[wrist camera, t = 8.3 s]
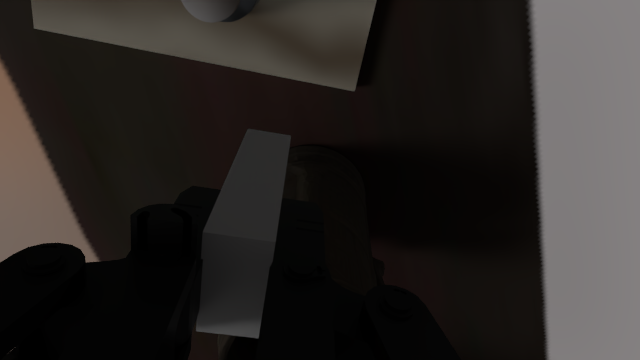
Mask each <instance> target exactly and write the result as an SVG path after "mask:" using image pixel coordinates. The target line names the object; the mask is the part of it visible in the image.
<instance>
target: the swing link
mask: <svg viewBox="0 0 640 360" xmlns="http://www.w3.org/2000/svg"><path fill="white" fill-rule="evenodd" d="M259 1H260V0H240V2H239V5H238V7H237V9H236V10H235V12H234V13H233V14H232V15H231V16H229V17H228V18H226V19H224V20H222V21H220V22H234V21H237V20H239V19H241V18H243V17H244V16H246V15H247V14H249V13H250V12H251V11H252V10H253V9H255V7H256V6H257V5H258V3H259Z"/></svg>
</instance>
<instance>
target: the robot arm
mask: <svg viewBox="0 0 640 360" xmlns="http://www.w3.org/2000/svg"><path fill="white" fill-rule="evenodd" d="M290 140H291V136H290V135H284V134H278V133H271V132H265V131H259V130H253V129H248V130H247V132H246V134H245V137H244V139H243V141H242V143H241V146H240V148H239V150H238V152H237V155H236V157H235V159H234V162H233V164H232V166H231V168H230V171H229V173H228V175H227V178H226V180H225V182H224V184H223V187H222V189H221V190H218V189H211V188H204V187H197V186H192V187H190V188H188V189H187V190H185V191H183V192H182V193H180V195H179V196H178V198H177V199H176V201H175V203H174V204H156V205H149V206H146V207H143V208H141V209H138V210H137V211H136V212H134V213H133V214H132V215H131V251H130V252H129V254H128V255H127V257H126V258H123V259H120V260H112V261H102V262H89V263H85V256H84V254H83V253H82V251H81V250H80V249H78V248H77V247H75V246H73V245H69V244H63V243H46V244H40V245H36V246H32V247H28V248H26V249H23V250H21V251H19V252H17V253H15V254H13V255H12V256H10V257H8V258H7V259H5V260H4V261H2V262H0V360H187V359H188V356H189V353H190V350H191V335H192V330H193V327H194V325H195V322H196V319H197V324H196V331H200V332H208V333H216V334H225V335H233V336H242V337H250V338H258V345H257V351H256V357H255V360H461V359H460V358H459V356H458V355H457V353H456V352H455V350H454V349H453V347H452V345H451V344H450V342H449V341H448V339H447V338H446V336H445V335H444V333H443V332H442V330H441V328H440V327H439V325H438V324H437V322H436V321H435V319H434V318H433V316H432V315H431V313H430V311H429V310H428V308H427V307H426V305H425V304H424V303H423V302H422V301H421V300H420V299H419V298H418V297H417V296H416V295H414V294H413V293H411V292H410V291H408V290H406V289H403V288H400V287H397V286H391V285H380V286H375V287H373V288H372V289H370V290H369V291H367V293H366V296H363V295H361V294H358V293H355V292H352V291H350V290H348V289H346V288H344V287H342V286H340V285H339V284H337V283H336V282H335V281H334V280H333V279H332V278H331V275H330V272H329V269H328V268H327V267H326V265H325V243H324V225H323V224H324V218H323V212H322V210H321V209H320V208H319V206H318V205H317V204H316V203H314V202H308V201H301V200H294V199H287V198H282V195H283V188H284V181H285V174H286V167H287V161H288V154H289V147H290ZM12 349H13V350H12ZM11 350H12V351H11Z"/></svg>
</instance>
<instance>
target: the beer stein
mask: <svg viewBox="0 0 640 360" xmlns="http://www.w3.org/2000/svg"><path fill="white" fill-rule="evenodd" d="M282 198H287V199H294V200H301V201H308V202H314V203H316V204H317V205H318V206H319V208H320V209H321V210H322V212H323V218H324V224H323V225H324V243H325V265H326V267H327V268H328V269H329V272H330V275H331V278H332V279H333V280H334V281H335V282H336V283H337V284H339V285H340V286H342V287H344V288H346V289H348V290H350V291H352V292H355V293H358V294H361V295H363V296H366V293H367V291H369V290H370V289H372V288H373V287H375V286H380V285H385V284H384V281H383V279H382V276H383V274H384V269H385V268H384V263H383V261H380V260H377V259H375V258H373V257H372V252H371V244H370V237H369V228H368V220H367V208H366V203H365V202H366V191H365V187H364V182H363V179H362V177H361V175H360V173H359V172H358V170H357V169H356V167H355V166H354V165H353V163H352V162H351V161H349V160H348V159H347V158H346V157H344V156H343V155H341V154H339V153H338V152H336V151H334V150H331V149H328V148H325V147H320V146H314V145H310V146H298V147H293V148H289V154H288V161H287V167H286V174H285V181H284V188H283V195H282ZM217 343H218V352H219V360H255V357H256V351H257V345H258V338H250V337H242V336H233V335H225V334H219V335H218V341H217Z"/></svg>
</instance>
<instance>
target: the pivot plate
mask: <svg viewBox="0 0 640 360" xmlns="http://www.w3.org/2000/svg"><path fill="white" fill-rule="evenodd" d="M376 1H377V0H260V1H259V3H258V5H257V6H256V7H255V9H253V10H252V11H251V12H250V13H249V14H247V15H246V16H244V17H243V18H241V19H239V20H237V21H234V22H220V21H222V20H224V19H226V18H228V17H229V16H231V15H232V14H233V13H234V12H235V10H236V9H237V7H238V5H239V2H240V0H31V3H32V13H33V23H34V28H35V29H40V30H45V31H50V32H55V33H60V34H65V35H70V36H75V37H80V38H86V39H91V40H96V41H101V42H106V43H111V44H116V45H121V46H126V47H131V48H136V49H141V50H147V51H152V52H157V53H162V54H167V55H172V56H177V57H182V58H187V59H192V60H197V61H202V62H208V63H213V64H218V65H223V66H228V67H233V68H238V69H243V70H248V71H253V72H258V73H263V74H269V75H274V76H279V77H284V78H289V79H294V80H299V81H304V82H309V83H314V84H319V85H324V86H330V87H335V88H340V89H345V90H350V91H355V88H356V84H357V80H358V76H359V71H360V67H361V63H362V59H363V55H364V51H365V46H366V42H367V38H368V34H369V30H370V26H371V21H372V17H373V13H374V9H375V5H376Z"/></svg>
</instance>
